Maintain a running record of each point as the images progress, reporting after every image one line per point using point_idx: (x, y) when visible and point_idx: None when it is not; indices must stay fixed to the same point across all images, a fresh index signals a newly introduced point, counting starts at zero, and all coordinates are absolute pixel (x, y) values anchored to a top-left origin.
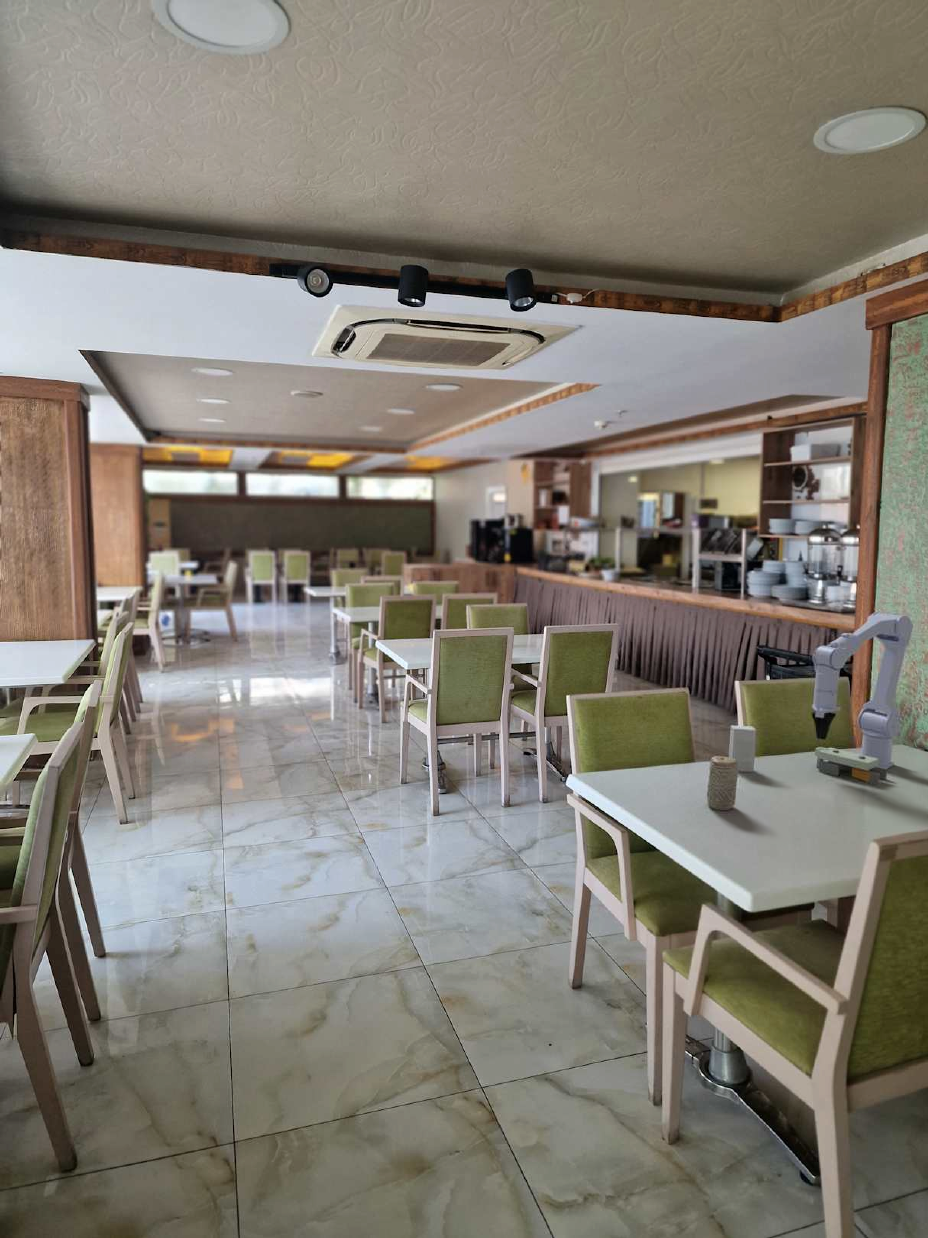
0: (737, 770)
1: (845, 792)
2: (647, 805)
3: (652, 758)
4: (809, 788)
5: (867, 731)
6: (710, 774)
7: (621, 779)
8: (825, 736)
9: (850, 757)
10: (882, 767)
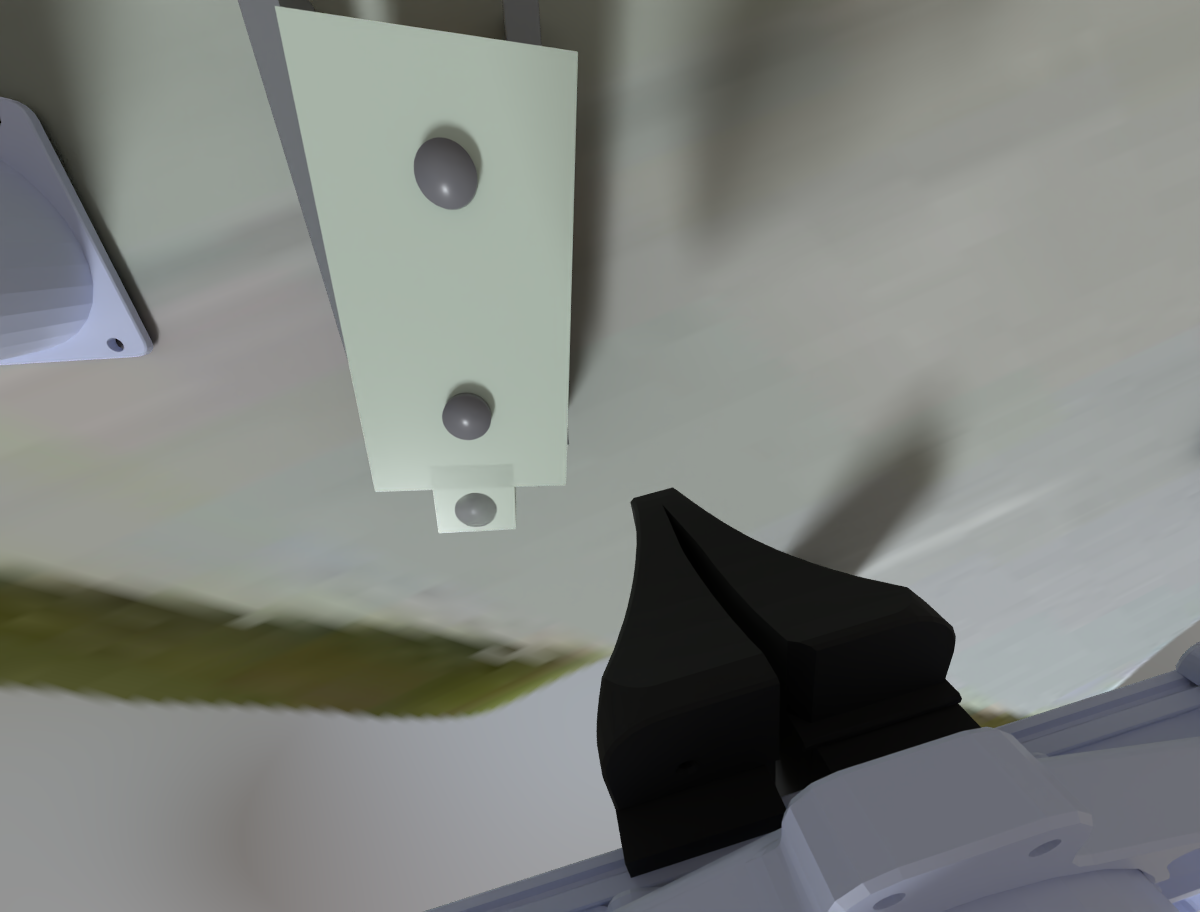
0: None
1: (841, 152)
2: None
3: None
4: (881, 325)
5: None
6: None
7: (1066, 668)
8: (689, 501)
9: (523, 266)
10: (242, 13)
